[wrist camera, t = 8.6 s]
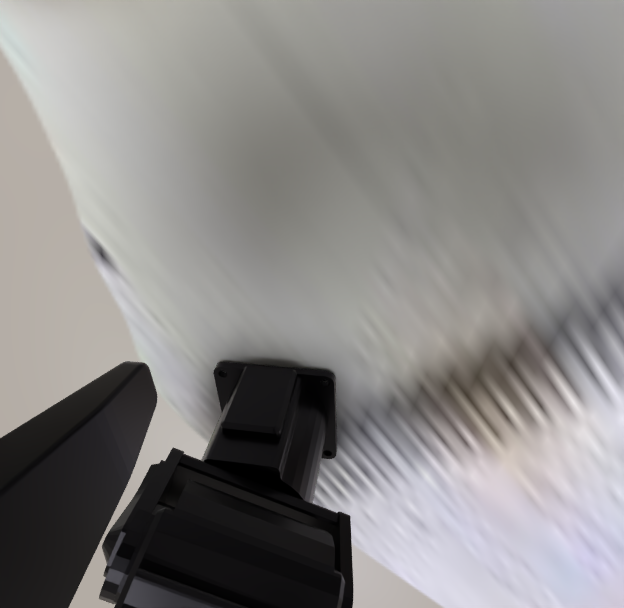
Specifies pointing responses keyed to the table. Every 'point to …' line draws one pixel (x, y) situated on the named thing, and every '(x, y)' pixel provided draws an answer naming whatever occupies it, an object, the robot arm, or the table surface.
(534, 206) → the table surface
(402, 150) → the table surface
